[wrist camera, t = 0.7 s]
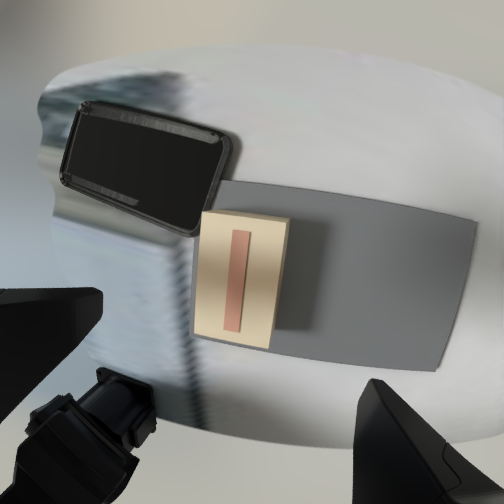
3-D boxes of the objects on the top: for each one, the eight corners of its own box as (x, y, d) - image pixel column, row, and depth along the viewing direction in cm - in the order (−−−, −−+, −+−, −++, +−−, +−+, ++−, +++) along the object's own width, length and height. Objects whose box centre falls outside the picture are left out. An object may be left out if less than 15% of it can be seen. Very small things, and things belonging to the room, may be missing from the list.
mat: (191, 332, 24) (189, 335, 24) (202, 178, 21) (199, 178, 21) (433, 368, 21) (435, 371, 20) (473, 221, 18) (476, 221, 18)
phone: (80, 99, 21) (234, 135, 20) (88, 101, 23) (238, 138, 21) (56, 183, 23) (197, 244, 22) (64, 183, 24) (203, 241, 23)
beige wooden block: (274, 329, 22) (268, 349, 19) (208, 316, 23) (193, 334, 20) (290, 218, 20) (285, 222, 17) (217, 208, 21) (201, 211, 18)
